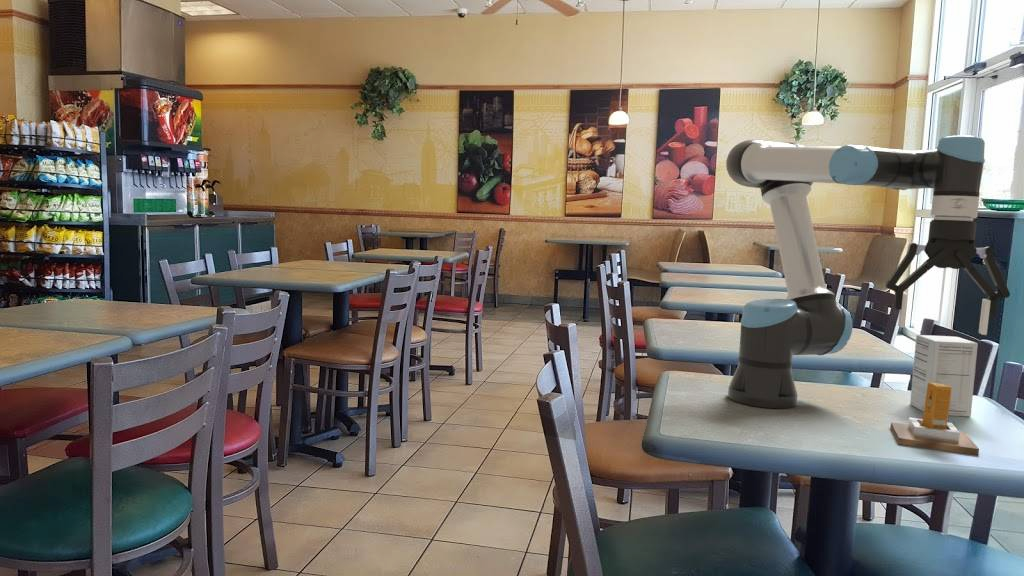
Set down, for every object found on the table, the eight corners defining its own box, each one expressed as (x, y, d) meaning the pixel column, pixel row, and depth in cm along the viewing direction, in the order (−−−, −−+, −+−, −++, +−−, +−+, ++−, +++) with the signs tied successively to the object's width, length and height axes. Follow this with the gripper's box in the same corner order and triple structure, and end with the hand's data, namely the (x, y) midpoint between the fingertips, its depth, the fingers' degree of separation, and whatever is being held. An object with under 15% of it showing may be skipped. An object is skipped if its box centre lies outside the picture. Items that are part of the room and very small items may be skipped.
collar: (913, 436, 135) (914, 426, 135) (908, 427, 142) (909, 417, 141) (958, 443, 132) (959, 432, 132) (950, 432, 139) (951, 422, 139)
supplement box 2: (947, 438, 135) (953, 386, 134) (929, 437, 135) (935, 386, 134) (938, 432, 138) (943, 382, 137) (920, 431, 138) (925, 382, 138)
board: (898, 444, 134) (899, 437, 134) (890, 427, 145) (891, 422, 145) (978, 455, 129) (979, 448, 129) (963, 437, 140) (964, 431, 140)
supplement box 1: (950, 406, 166) (958, 336, 164) (972, 417, 157) (980, 342, 155) (908, 404, 167) (915, 333, 165) (927, 414, 157) (934, 340, 156)
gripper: (881, 216, 134) (870, 326, 137) (1038, 222, 125) (1024, 340, 127) (877, 216, 141) (867, 321, 144) (1026, 222, 132) (1012, 334, 134)
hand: (941, 330), depth 135 cm, fingers open, 13 cm apart
